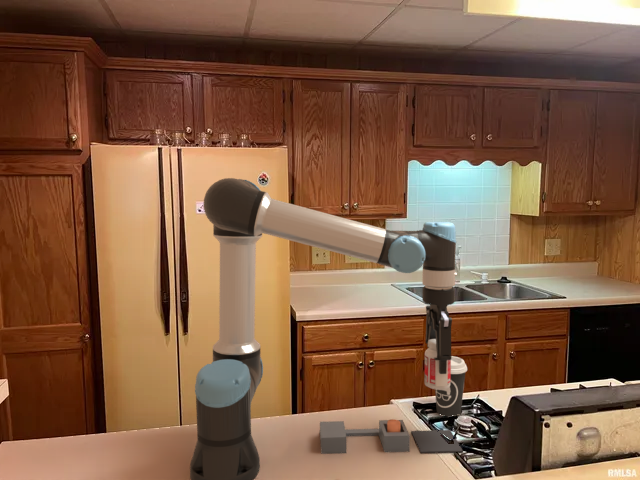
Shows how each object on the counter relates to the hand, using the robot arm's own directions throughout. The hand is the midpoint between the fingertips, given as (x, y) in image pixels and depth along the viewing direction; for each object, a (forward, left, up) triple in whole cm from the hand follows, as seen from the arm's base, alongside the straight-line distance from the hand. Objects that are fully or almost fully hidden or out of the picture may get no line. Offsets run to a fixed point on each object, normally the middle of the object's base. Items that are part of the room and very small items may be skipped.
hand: (437, 379), depth 117 cm
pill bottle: (0, 0, -2) cm, 2 cm away
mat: (0, 0, -16) cm, 16 cm away
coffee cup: (+8, +16, -16) cm, 24 cm away
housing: (-18, +1, -16) cm, 24 cm away
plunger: (-11, 0, -16) cm, 19 cm away
